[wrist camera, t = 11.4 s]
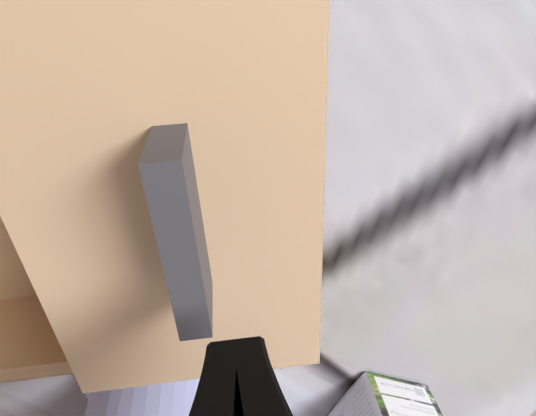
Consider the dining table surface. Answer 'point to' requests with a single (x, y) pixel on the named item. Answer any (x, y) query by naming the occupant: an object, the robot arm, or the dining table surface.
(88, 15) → the lid panel
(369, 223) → the dining table surface
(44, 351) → the carton
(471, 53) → the dining table surface
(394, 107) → the dining table surface
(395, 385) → the white printed box
